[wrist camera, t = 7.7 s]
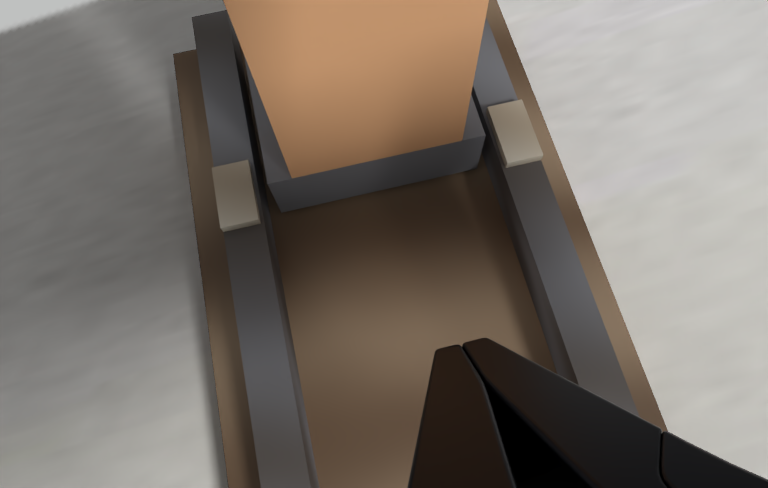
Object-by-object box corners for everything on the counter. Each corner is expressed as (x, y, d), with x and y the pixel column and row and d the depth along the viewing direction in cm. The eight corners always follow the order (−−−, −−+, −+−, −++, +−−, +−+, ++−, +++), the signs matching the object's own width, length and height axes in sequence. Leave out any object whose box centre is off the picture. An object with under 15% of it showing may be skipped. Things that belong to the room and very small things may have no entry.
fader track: (670, 496, 16) (731, 504, 13) (259, 605, 16) (224, 640, 13) (486, 17, 23) (499, -53, 20) (187, 80, 22) (153, 18, 19)
